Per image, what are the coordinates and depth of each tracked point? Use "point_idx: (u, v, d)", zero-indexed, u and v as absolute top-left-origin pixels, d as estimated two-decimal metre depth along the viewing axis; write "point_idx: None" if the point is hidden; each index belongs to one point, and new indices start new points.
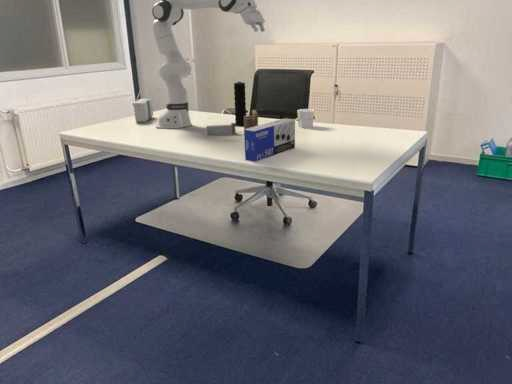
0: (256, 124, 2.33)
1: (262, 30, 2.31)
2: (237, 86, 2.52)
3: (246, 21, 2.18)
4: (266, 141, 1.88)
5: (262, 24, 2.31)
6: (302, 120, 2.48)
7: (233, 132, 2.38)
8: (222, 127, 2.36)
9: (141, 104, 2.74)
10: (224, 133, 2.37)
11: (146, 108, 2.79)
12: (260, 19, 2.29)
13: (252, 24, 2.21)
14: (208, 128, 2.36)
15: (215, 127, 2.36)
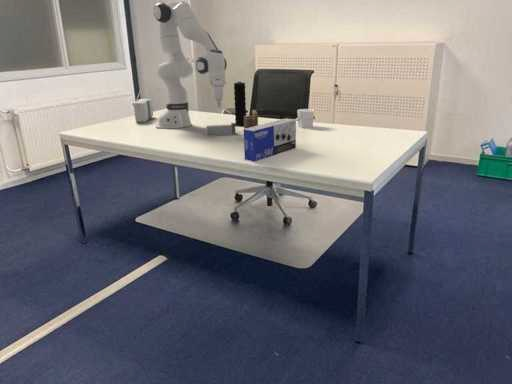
0: (256, 124, 2.33)
1: None
2: (237, 86, 2.52)
3: (217, 98, 2.22)
4: (265, 141, 1.88)
5: None
6: (302, 120, 2.48)
7: (233, 132, 2.38)
8: (222, 127, 2.36)
9: (141, 104, 2.74)
10: (224, 133, 2.37)
11: (146, 108, 2.79)
12: None
13: (219, 101, 2.26)
14: (208, 128, 2.36)
15: (215, 127, 2.36)
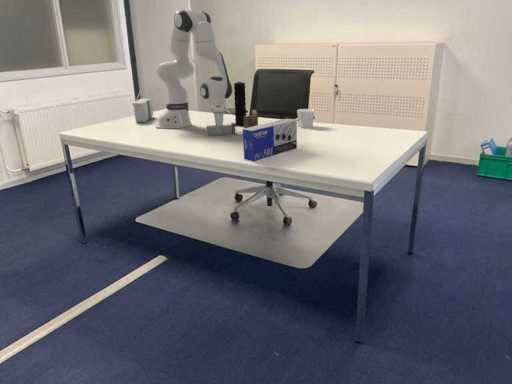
0: (256, 124, 2.33)
1: None
2: (237, 86, 2.52)
3: (217, 124, 2.27)
4: (265, 141, 1.88)
5: None
6: (302, 120, 2.48)
7: (233, 132, 2.38)
8: (222, 127, 2.36)
9: (141, 104, 2.74)
10: (224, 133, 2.37)
11: (146, 108, 2.79)
12: None
13: None
14: (208, 128, 2.36)
15: (215, 127, 2.36)
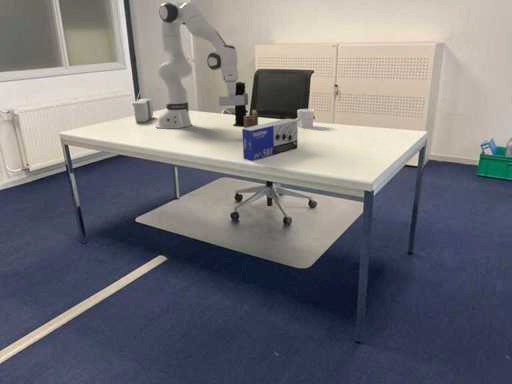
0: (256, 124, 2.33)
1: None
2: (237, 86, 2.52)
3: (230, 93, 2.22)
4: (264, 141, 1.88)
5: None
6: (302, 120, 2.48)
7: (246, 102, 2.32)
8: (234, 97, 2.31)
9: (141, 104, 2.74)
10: (236, 103, 2.32)
11: (146, 108, 2.79)
12: None
13: (231, 96, 2.28)
14: (220, 98, 2.30)
15: (227, 97, 2.30)
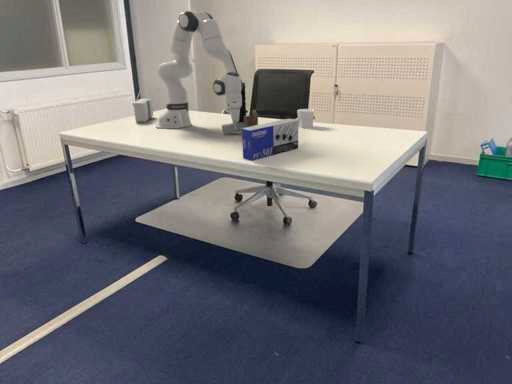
0: (256, 124, 2.33)
1: None
2: None
3: (234, 120, 2.27)
4: (264, 141, 1.88)
5: None
6: (302, 120, 2.48)
7: None
8: (237, 124, 2.37)
9: (141, 104, 2.74)
10: (240, 130, 2.38)
11: (146, 108, 2.79)
12: None
13: (235, 122, 2.32)
14: (223, 127, 2.36)
15: (230, 125, 2.36)
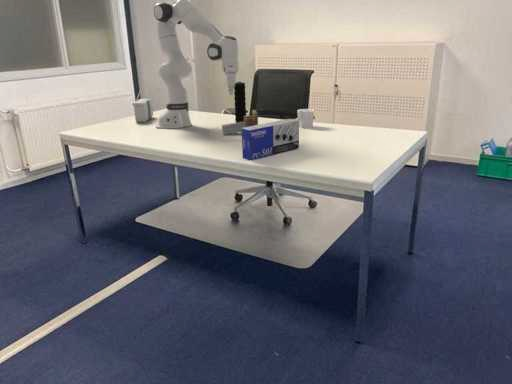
0: (256, 124, 2.33)
1: None
2: (237, 86, 2.52)
3: (229, 84, 2.23)
4: (263, 141, 1.89)
5: None
6: (302, 120, 2.48)
7: None
8: (237, 124, 2.37)
9: (141, 104, 2.74)
10: (240, 130, 2.38)
11: (146, 108, 2.79)
12: None
13: (231, 88, 2.27)
14: (223, 127, 2.36)
15: (230, 125, 2.36)
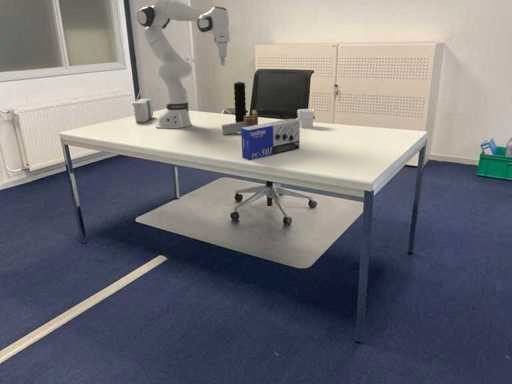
0: (256, 124, 2.33)
1: None
2: (237, 86, 2.52)
3: (221, 54, 2.23)
4: (263, 140, 1.89)
5: None
6: (302, 120, 2.48)
7: None
8: (237, 124, 2.37)
9: (141, 104, 2.74)
10: (240, 130, 2.38)
11: (146, 108, 2.79)
12: None
13: (223, 58, 2.27)
14: (223, 127, 2.36)
15: (230, 125, 2.36)
